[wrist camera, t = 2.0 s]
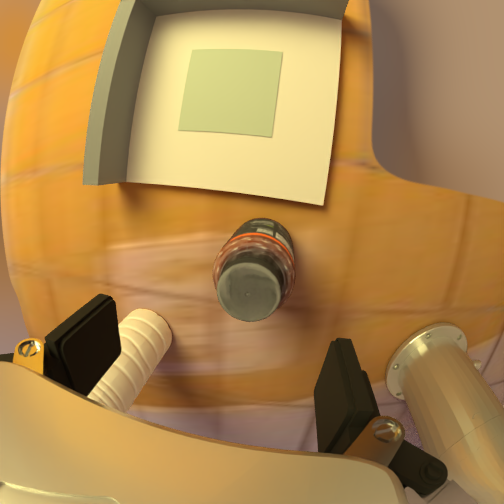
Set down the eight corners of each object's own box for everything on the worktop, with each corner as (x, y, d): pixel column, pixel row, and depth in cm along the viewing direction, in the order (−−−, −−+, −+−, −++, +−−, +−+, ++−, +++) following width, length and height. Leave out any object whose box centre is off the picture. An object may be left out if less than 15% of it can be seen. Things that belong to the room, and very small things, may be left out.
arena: (340, 11, 19) (350, -18, 13) (321, 204, 25) (331, 213, 20) (149, 10, 21) (125, -11, 15) (116, 180, 27) (82, 184, 22)
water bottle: (181, 347, 32) (82, 519, 8) (142, 353, 33) (41, 494, 10) (151, 285, 30) (-8, 442, 6) (112, 297, 32) (-30, 422, 8)
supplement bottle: (243, 280, 29) (217, 342, 18) (225, 226, 27) (184, 261, 16) (299, 266, 27) (306, 325, 17) (283, 209, 26) (281, 234, 15)
